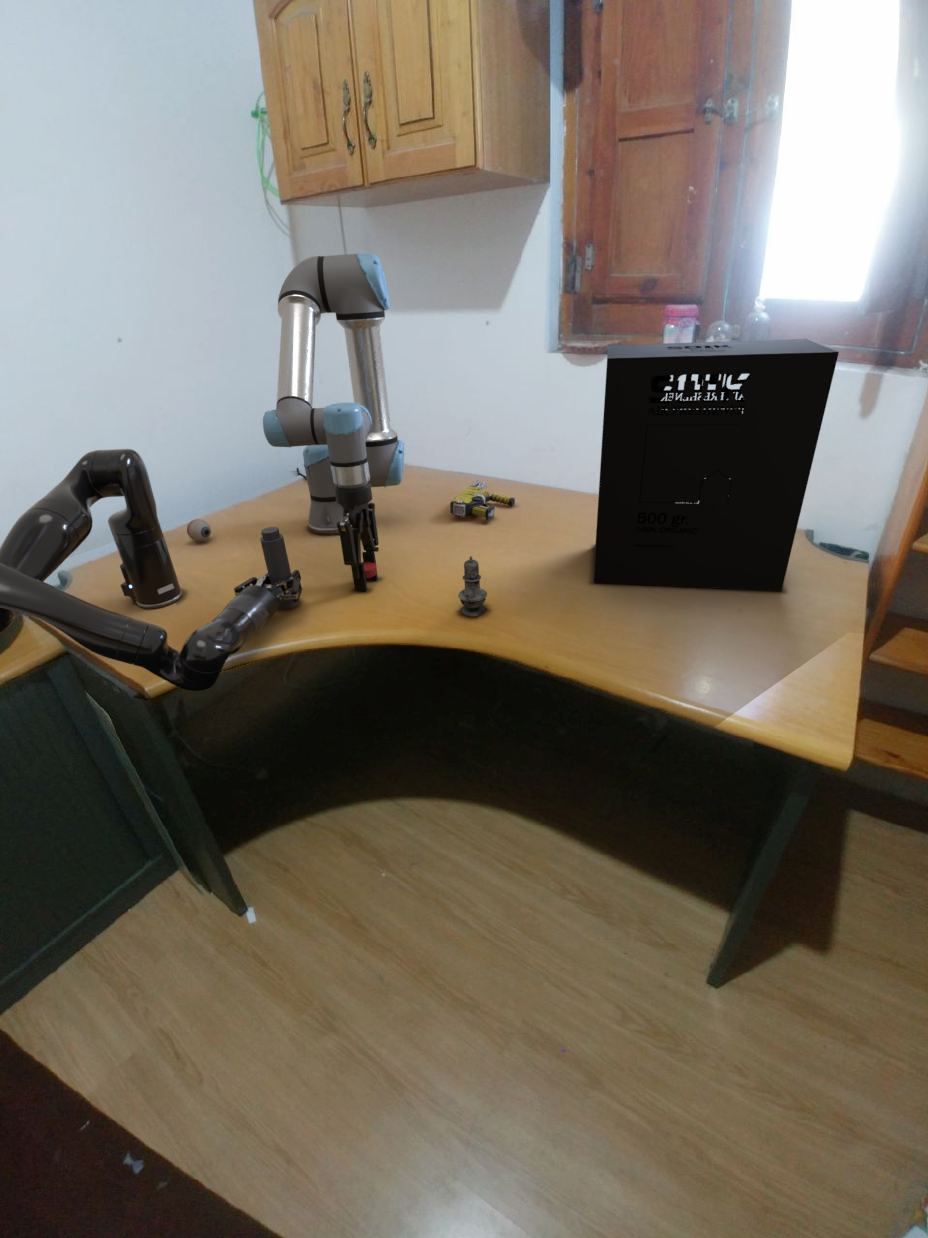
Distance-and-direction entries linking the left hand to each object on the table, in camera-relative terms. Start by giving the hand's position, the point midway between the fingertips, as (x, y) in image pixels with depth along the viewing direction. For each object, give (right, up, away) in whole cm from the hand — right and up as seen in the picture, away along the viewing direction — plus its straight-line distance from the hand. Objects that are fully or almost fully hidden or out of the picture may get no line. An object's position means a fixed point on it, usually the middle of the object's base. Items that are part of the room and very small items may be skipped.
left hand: (286, 573), depth 129 cm
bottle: (0, -7, +1) cm, 7 cm away
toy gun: (+45, +23, +47) cm, 69 cm away
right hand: (+16, -2, +7) cm, 17 cm away
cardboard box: (+87, +2, +7) cm, 87 cm away
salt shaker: (+40, -8, -6) cm, 41 cm away
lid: (+16, +2, +5) cm, 17 cm away
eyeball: (-33, +11, +35) cm, 50 cm away
